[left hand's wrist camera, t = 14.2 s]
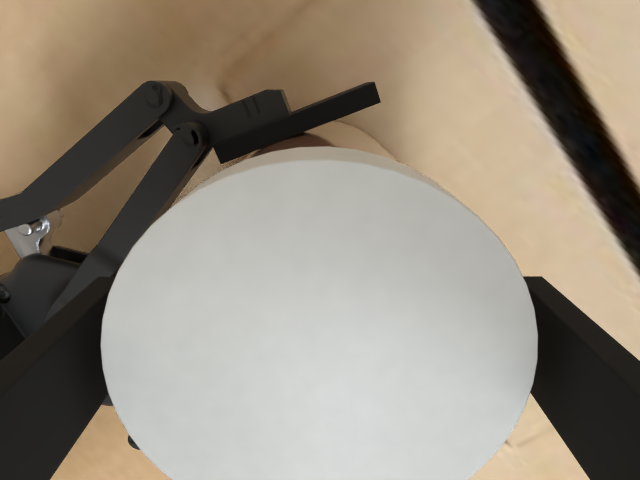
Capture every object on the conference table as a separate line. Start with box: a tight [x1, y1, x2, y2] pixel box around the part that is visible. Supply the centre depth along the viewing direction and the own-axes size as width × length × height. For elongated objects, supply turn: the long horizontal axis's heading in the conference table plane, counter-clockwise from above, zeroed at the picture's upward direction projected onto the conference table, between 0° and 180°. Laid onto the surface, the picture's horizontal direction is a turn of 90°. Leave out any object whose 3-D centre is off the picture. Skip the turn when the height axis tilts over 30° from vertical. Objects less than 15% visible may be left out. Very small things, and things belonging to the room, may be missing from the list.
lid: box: [101, 146, 538, 480], centre depth 11 cm, size 11×11×2 cm
